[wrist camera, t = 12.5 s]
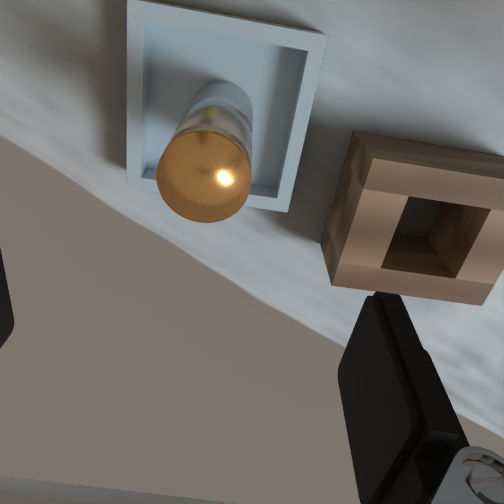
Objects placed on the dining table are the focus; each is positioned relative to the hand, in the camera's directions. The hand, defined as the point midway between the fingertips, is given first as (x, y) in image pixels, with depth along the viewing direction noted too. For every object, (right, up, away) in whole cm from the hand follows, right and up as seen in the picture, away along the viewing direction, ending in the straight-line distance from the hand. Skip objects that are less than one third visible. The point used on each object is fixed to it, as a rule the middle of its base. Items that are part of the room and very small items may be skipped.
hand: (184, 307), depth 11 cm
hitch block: (+14, +5, +23) cm, 28 cm away
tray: (-1, +12, +19) cm, 23 cm away
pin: (0, +11, +19) cm, 22 cm away
